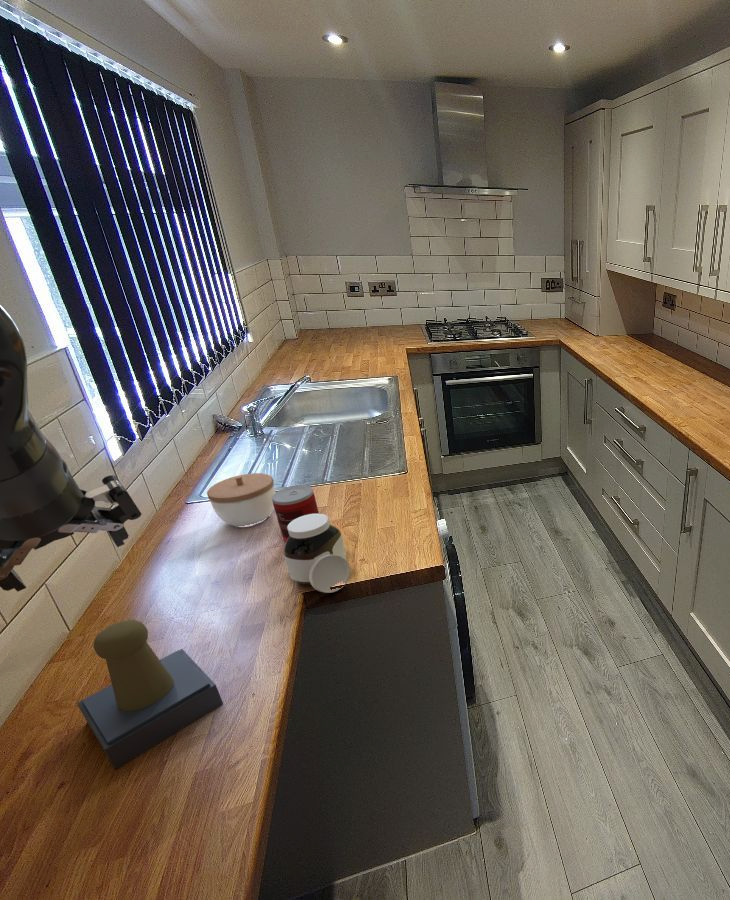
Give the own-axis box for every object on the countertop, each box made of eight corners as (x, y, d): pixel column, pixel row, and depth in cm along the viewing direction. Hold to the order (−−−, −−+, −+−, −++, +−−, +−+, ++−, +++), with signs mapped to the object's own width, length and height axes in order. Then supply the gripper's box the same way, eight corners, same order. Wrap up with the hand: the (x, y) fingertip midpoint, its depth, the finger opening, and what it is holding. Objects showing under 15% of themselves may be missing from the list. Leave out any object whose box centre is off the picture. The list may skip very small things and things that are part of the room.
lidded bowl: (269, 531, 116) (256, 487, 112) (207, 537, 115) (191, 492, 110) (291, 504, 128) (279, 463, 124) (235, 509, 126) (221, 467, 122)
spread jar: (320, 557, 107) (307, 507, 102) (371, 562, 105) (360, 512, 101) (277, 595, 96) (261, 541, 92) (333, 601, 94) (319, 546, 90)
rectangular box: (115, 770, 65) (103, 747, 63) (87, 722, 71) (75, 700, 70) (223, 703, 74) (215, 682, 72) (189, 666, 80) (181, 646, 79)
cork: (115, 692, 71) (83, 628, 67) (170, 668, 75) (143, 606, 71) (119, 719, 67) (85, 653, 63) (177, 692, 71) (149, 628, 67)
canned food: (318, 524, 119) (307, 481, 115) (328, 539, 113) (317, 494, 109) (280, 536, 115) (268, 491, 110) (288, 552, 109) (275, 506, 105)
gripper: (89, 422, 52) (129, 505, 64) (-132, 488, 43) (-37, 573, 54) (128, 474, 51) (162, 550, 62) (-92, 555, 41) (-3, 627, 53)
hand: (69, 560), depth 58 cm, fingers open, 8 cm apart
